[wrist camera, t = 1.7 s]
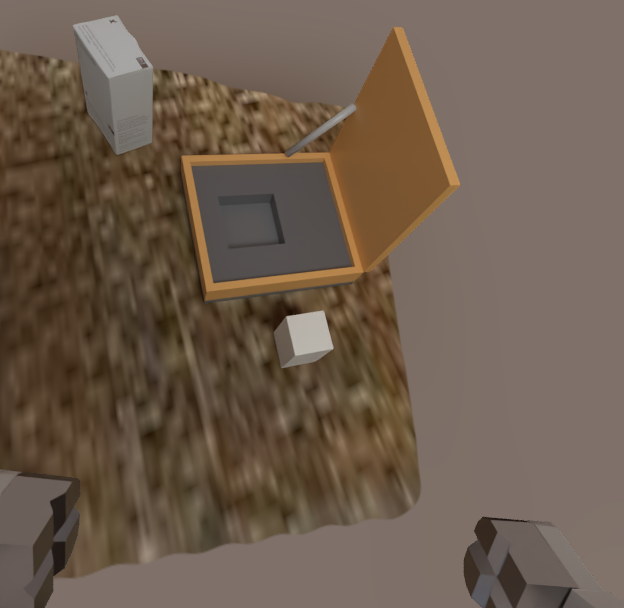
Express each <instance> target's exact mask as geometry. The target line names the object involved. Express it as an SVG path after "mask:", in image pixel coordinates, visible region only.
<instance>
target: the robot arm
mask: <svg viewBox="0 0 624 608" xmlns="http://www.w3.org/2000/svg"><path fill="white" fill-rule="evenodd" d="M79 497H80V480H79V479H77V478H72V477H64V476H55V475H47V474H39V473H30V472H16V471H8V470H0V608H45V606H46V605H47V602H48V600H49V599H50V597H51V595H52V593H53V576H55V575H56V574H58V573H59V572H60V571H62V570H63V569H65V567H66V565H67V563H68V561H69V559H70V557H71V554H72V552H73V549H74V546H75V543H76V540H77V536H78V530H79V525H80V513H79V512H78V511H77V509H76V508H75V507H74V506H75V504H76V502H77V500H78V498H79ZM474 532H475V534H476V536H477V539H478V540H477V541H475V542H474V543H473V544H471V545H470V546H469V547H468V548H467V551H466V554H465V558H464V577H465V582H466V586H467V588H468V591H469V593H470V596H471V598H472V599H473V600H474V601H475V602H477V603H478V604H479V605H480V606H481V607H482V608H624V601H623V600H621V599H620V598H619V597H617V596H615V595H614V594H613V593H612V592H606V591H603V589H602V588H601V587H600V585H599V584H598V583H597V581H596V580H595V579H594V577H593V576H592V575H591V573H590V572H589V570H588V569H587V568H586V566H585V565H584V564H583V562H582V561H581V559H580V558H579V557H578V555H577V554H576V553H575V551H574V550H573V548H572V547H571V546H570V544H569V543H568V542H567V540H566V539H565V538H564V536H563V535H562V533H561V532H560V531H559V529H558V528H557V527H556V526H555V525H553V524H552V523H550V522H541V521H530V520H528V521H524V520H514V519H503V518H491V517H482V518H481V519H480V520H479V521H478V523H477V525H476V528H475V530H474Z"/></svg>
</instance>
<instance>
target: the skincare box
mask: <svg viewBox="0 0 624 608" xmlns="http://www.w3.org/2000/svg"><path fill="white" fill-rule="evenodd" d="M73 29H74V35H75V40H76V46H77V52H78V58H79V64H80V70H81V76H82V82H83V88H84V93H85V100H86V106H87V111H88V114H89V115H90V117H91V118H92V119H93V120H94V122H95V123H96V124H97V126H98V127H99V129H100V130H101V132H102V133H103V135H104V136H105V138H106V139H107V141H108V142H109V144H110V146H111V147H112V149H113V151H114V152H115V154H116V155H119V154H122V153H125V152H127V151H130V150H133V149H136V148H139V147H142V146H144V145H147V144H150V143H152V112H153V66H152V65H151V63H150V62H149V60H148V59H147V58H146V56H145V55H144V54H143V52H142V51H141V49H140V48H139V46H138V43H137V41H136V39H134V37H133V36H132V35H130V34H129V32H128V31H127V30H126V28H125V26H124V25H123V23H122V21H121V20H120V18H119V17H118V16H117V15H116V16H112V17H107V18H103V19H99V20H94V21H90V22H84V23H78V24H75V25H73Z"/></svg>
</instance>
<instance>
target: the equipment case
mask: <svg viewBox="0 0 624 608" xmlns="http://www.w3.org/2000/svg"><path fill="white" fill-rule="evenodd" d="M347 116H348V117H347ZM346 117H347V119H346V120H345V122H344V124H343V126H342V128H341V130H340V132H339V134H338V136H337V138H336V140H335V142H334V144H333V146H332V148H331V150H330V152H327V153H296V152H297V151H299V150H300V149H302V148H303V147H305V146H306V145H307V144H309V143H310V142H312V141H313V140H315V139H316V138H317V137H319V136H320V135H322V134H323V133H325V132H326V131H327V130H329V129H330V128H332V127H333V126H335V125H336V124H337V123H339V122H340V121H342V120H343V119H345V118H346ZM181 179H182V184H183V190H184V195H185V201H186V206H187V212H188V217H189V223H190V228H191V234H192V239H193V245H194V250H195V256H196V261H197V267H198V272H199V278H200V283H201V289H202V294H203V300H204V303H211V302H218V301H226V300H233V299H241V298H248V297H256V296H263V295H271V294H278V293H286V292H294V291H301V290H309V289H316V288H324V287H331V286H339V285H346V284H352V283H353V282H354V281H355V280H356V279H357V278H358V277H359V276H360V275H361V274H362V273H363V272H369V271H372V270H373V269H374V268H375V267H376V266H377V265H378V264H379V263H380V262H381V261H382V260H383V259H384V258H385V257H386V256H387V255H388V254H389V253H390V252H391V251H392V250H393V249H394V248H395V247H397V246H398V245H399V244H400V242H402V241H403V240H404V239H405V238H406V237H407V236H408V235H409V234H410V233H411V232H412V231H413V230H414V229H415V228H416V227H417V226H418V225H419V224H420V223H421V222H422V221H423V220H425V219H426V218H427V217H428V215H430V214H431V213H432V212H433V211H434V210H435V209H436V208H437V207H438V206H439V205H440V204H441V203H442V202H443V201H444V200H445V199H446V198H447V197H448V196H449V195H451V193H453V192H454V191H455V190H456V189H457V188H458V187H459V186H460V183H459V180H458V177H457V174H456V171H455V169H454V166H453V163H452V161H451V158H450V155H449V153H448V150H447V147H446V144H445V141H444V139H443V136H442V133H441V131H440V128H439V125H438V122H437V120H436V117H435V114H434V112H433V109H432V106H431V103H430V101H429V98H428V95H427V92H426V90H425V87H424V84H423V81H422V79H421V76H420V73H419V71H418V68H417V65H416V62H415V60H414V57H413V55H412V51H411V49H410V46H409V43H408V41H407V38H406V35H405V32H404V30H403V28H400V27H393V29H392V31H391V33H390V34H389V36H388V38H387V40H386V42H385V44H384V46H383V48H382V50H381V52H380V54H379V56H378V58H377V60H376V62H375V64H374V66H373V68H372V70H371V72H370V74H369V76H368V77H367V80H366V81H365V83H364V85H363V87H362V90H361V91H360V93H359V95H358V97H357V99H356V101H355V103H352V104H351V105H349V106H348V107H347V108H345V109H344V110H342V111H341V112H340V113H338V114H337V115H335V116H334V117H333V118H331V119H330V120H328V121H327V122H326V123H324V124H323V125H321V126H320V127H319V128H317V129H316V130H314V131H313V132H312V133H310V134H309V135H307V136H306V137H305V138H303V139H302V140H300V141H299V142H298V143H296V144H295V145H293V146H292V147H291V148H289V149H288V150H286V151H285V153H282V154H237V155H192V156H182V158H181Z"/></svg>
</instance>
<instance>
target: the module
mask: <svg viewBox="0 0 624 608" xmlns="http://www.w3.org/2000/svg"><path fill="white" fill-rule="evenodd" d="M274 337H275V342H276V346H277V351H278V355H279V360H280V365H281V368H284V367H289V366H295V365H300V364H305V363H310V362H315V361H317V360H318V359H320V358H321V357H323V356H324V355H325V354H327V353H328V352H330V351H331V350H332V349H333V345H332V341H331V337H330V333H329V329H328V325H327V321H326V318H325V314H324V311H318V312H312V313H305V314H299V315H292V316H286V317H285V319H284V320H283V321H282V322H281V324H280V325H279V326H278V328H277V329H276V330H275V331H274Z"/></svg>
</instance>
